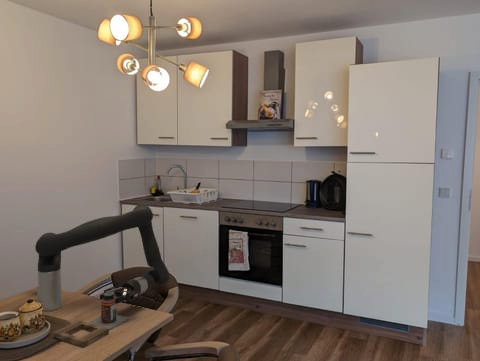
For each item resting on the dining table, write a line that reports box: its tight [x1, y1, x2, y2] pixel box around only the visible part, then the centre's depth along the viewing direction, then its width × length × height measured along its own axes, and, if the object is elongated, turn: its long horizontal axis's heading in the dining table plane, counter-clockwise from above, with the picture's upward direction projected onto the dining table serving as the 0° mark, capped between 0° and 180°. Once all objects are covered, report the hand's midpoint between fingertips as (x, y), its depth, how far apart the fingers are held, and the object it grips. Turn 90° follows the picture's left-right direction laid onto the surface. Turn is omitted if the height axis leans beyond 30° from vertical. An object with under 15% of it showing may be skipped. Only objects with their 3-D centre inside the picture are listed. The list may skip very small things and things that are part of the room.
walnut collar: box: [52, 320, 110, 348], centre depth 154 cm, size 16×12×2 cm
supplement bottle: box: [100, 292, 117, 323], centre depth 166 cm, size 6×6×11 cm
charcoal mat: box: [87, 314, 131, 331], centre depth 166 cm, size 12×12×1 cm
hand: (107, 299), depth 165 cm, fingers open, 8 cm apart
